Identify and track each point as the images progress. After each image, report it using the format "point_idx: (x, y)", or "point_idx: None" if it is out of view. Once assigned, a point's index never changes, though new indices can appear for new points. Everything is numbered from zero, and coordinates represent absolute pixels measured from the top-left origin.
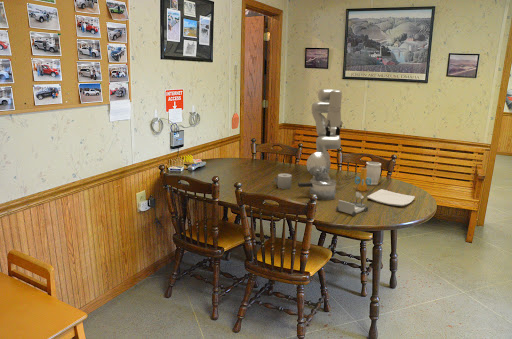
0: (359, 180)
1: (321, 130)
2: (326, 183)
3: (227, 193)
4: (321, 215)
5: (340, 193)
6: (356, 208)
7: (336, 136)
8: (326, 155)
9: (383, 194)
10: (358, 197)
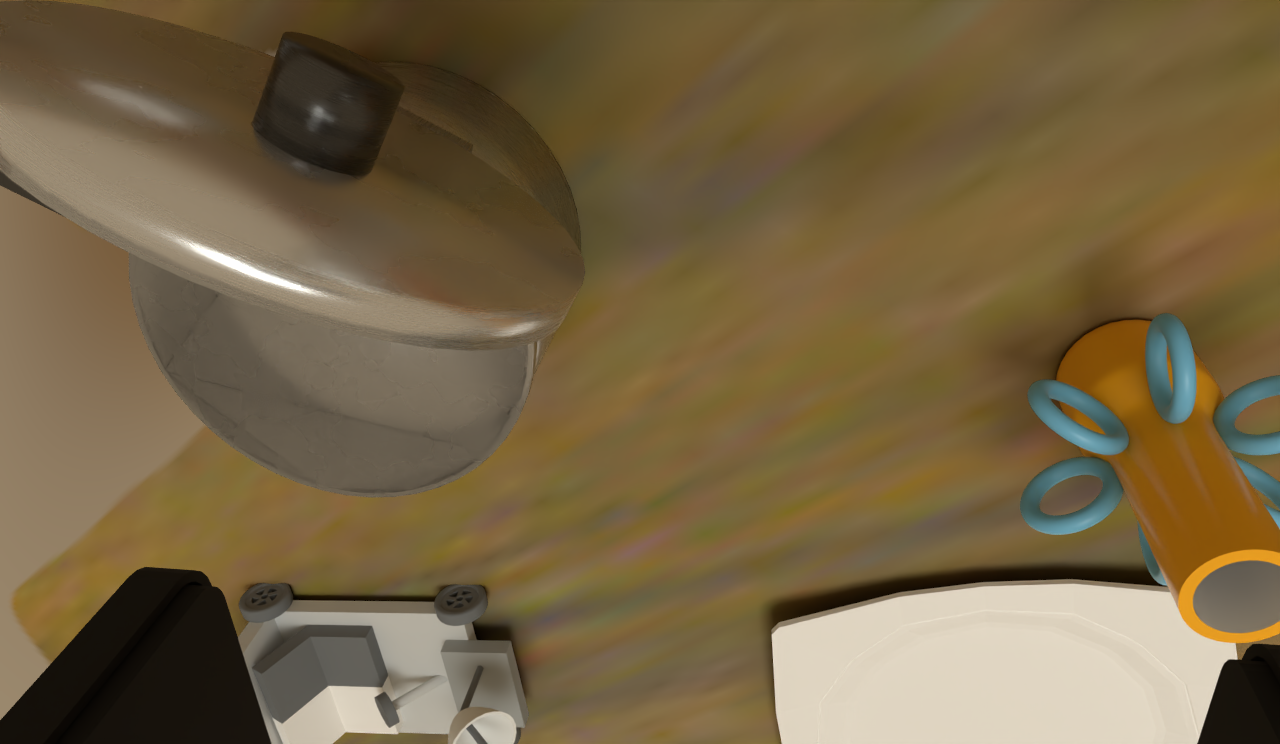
0: (1108, 433)
1: None
2: (295, 428)
3: None
4: (71, 570)
5: (719, 298)
6: (373, 727)
7: None
8: (409, 339)
9: (1100, 641)
10: (476, 724)
